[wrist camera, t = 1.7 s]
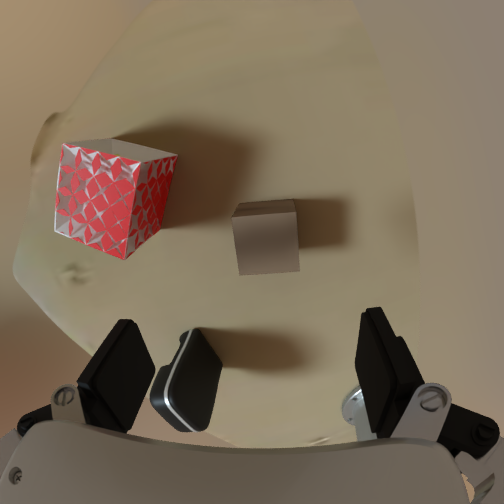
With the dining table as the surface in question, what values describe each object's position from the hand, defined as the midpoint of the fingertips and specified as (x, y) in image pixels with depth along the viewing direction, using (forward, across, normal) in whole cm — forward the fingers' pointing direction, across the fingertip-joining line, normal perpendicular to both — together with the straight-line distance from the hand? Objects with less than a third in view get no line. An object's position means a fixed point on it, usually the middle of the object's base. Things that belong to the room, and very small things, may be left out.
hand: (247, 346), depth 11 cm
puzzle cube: (+18, +13, -5) cm, 22 cm away
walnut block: (+18, 0, +1) cm, 18 cm away
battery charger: (+17, +10, +16) cm, 25 cm away
